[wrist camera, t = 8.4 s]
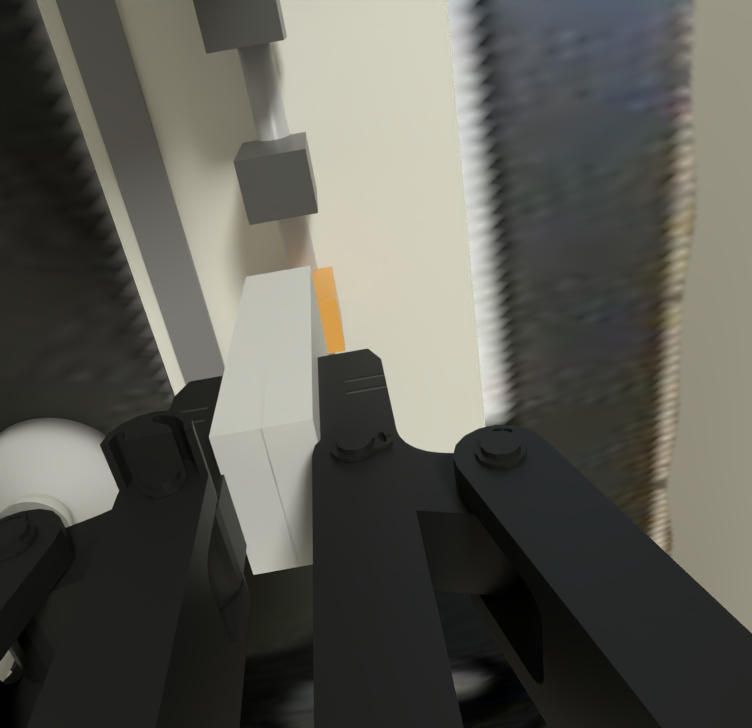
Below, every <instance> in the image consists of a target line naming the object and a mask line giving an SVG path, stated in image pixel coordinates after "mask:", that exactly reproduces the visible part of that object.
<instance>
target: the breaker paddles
mask: <svg viewBox="0 0 752 728" xmlns="http://www.w3.org/2000/svg"><path fill="white" fill-rule="evenodd" d="M193 3H194V7H195V11H196V15H197V19H198V23H199V27H200V31H201V35H202V39H203V43H204V47H205V51H206V54H208V53H213V52H219V51H225V50H231V49H236V48H237V50H238V54H239V58H240V63H241V67H242V71H243V76H244V80H245V84H246V89H247V93H248V97H249V102H250V106H251V110H252V115H253V119H254V124H255V128H256V132H257V137H258V140H257V141H251V142H245V143H242V145H241V147H240V149H239V151H238V153H237V155H236V157H235V159H234V161H233V162H234V166H235V170H236V174H237V178H238V182H239V186H240V190H241V194H242V198H243V202H244V206H245V210H246V214H247V218H248V222H249V225H254V224H259V223H265V222H270V221H276V220H277V223H278V228H279V232H280V236H281V241H282V245H283V250H284V254H285V258H286V263H287V267H288V269H294V268H300V267H305V266H310V267H311V272H312V277H313V282H314V287H315V292H316V297H317V302H318V306H319V311H320V316H321V321H322V326H323V331H324V336H325V341H326V345H327V350H328V355H333V354H335V353H336V352H342V351H346V350H345V342H344V333H343V325H342V316H341V310H340V305H339V300H338V295H337V290H336V284H335V279H334V274H333V269H332V266H331V267H326V268H320V269H318V268H317V263H316V258H315V253H314V249H313V244H312V239H311V234H310V229H309V225H308V220H307V215H310V214H315V213H318V201H317V188H316V182H315V177H314V172H313V167H312V162H311V157H310V152H309V147H308V142H307V137H306V132H302V133H296V134H290V133H289V128H288V123H287V118H286V114H285V109H284V104H283V99H282V94H281V89H280V85H279V80H278V75H277V70H276V65H275V61H274V56H273V51H272V46H271V42H276V41H282V40H284V39H285V38H286V37H287V35H286V29H285V24H284V19H283V14H282V9H281V4H280V0H193Z"/></svg>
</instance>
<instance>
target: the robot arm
mask: <svg viewBox="0 0 752 728" xmlns="http://www.w3.org/2000/svg"><path fill="white" fill-rule="evenodd" d="M100 447H101V449H102V452H103V454H104V456H105V459H106V461H107V463H108V466H109V468H110V470H111V473H112V475H113V478H114V480H115V482H116V485H117V487H118V489H119V492H118V494H117V497H116V500H115V502H114V505H113V507H112V509H111V510H109V511H107V512H104V513H102V514H100V515H98V516H95V517H93V518H90V519H87V520H85V521H82V522H80V523H77V524H74V525H72V526H69V527H67V528H65V526H64V524H63V522H62V520H61V518H60V517H59V516H58V515H57V514H56V513H55V512H54V511H51V510H45V509H33V510H27V511H21V512H18V513H14V514H12V515H9V516H6V517H4V518H1V519H0V661H1V660H2V659H3V657H4V656H5V654H6V653H7V652H8V650H9V651H10V653H11V655H12V656H13V658H14V659H15V661H16V663H17V666H16V667H15V669H14V670H13V672H12V673H11V674H10V675H9V676H8V677H7V678H6V679H5V680H4V681H3V682H2V681H1V680H0V728H239V726H240V715H241V704H242V693H243V682H244V671H245V660H246V649H247V638H248V627H249V616H250V605H251V598H250V592H249V588H248V585H247V582H246V579H245V576H244V566H245V557H246V553H247V556H248V560H249V563H250V566H251V569H252V572H253V575H256V574H261V573H267V572H273V571H278V570H284V569H289V568H295V567H301V566H306V565H312V564H313V644H314V728H463V724H462V719H461V715H460V710H459V706H458V701H457V696H456V692H455V687H454V683H453V678H452V673H451V669H450V664H449V660H448V655H447V651H446V646H445V641H444V637H443V632H442V628H441V623H440V618H439V614H438V609H437V605H436V600H435V595H434V591H433V590H439V591H449V592H459V593H469V595H470V598H471V601H472V604H473V605H474V607H475V609H476V610H477V612H478V613H479V615H480V617H481V618H482V620H483V622H484V623H485V625H486V626H487V628H488V630H489V631H490V633H491V634H492V636H493V638H494V639H495V641H496V642H497V644H498V646H499V647H500V649H501V651H502V652H503V654H504V655H505V657H506V659H507V660H508V662H509V663H510V665H511V667H512V668H513V670H514V672H515V673H516V675H517V676H518V678H519V680H520V681H521V683H522V684H523V686H524V688H525V689H526V691H527V692H528V694H529V696H530V697H531V699H532V701H533V702H534V704H535V705H536V707H537V709H538V710H539V712H540V713H541V715H542V717H543V718H544V720H545V722H546V723H547V725H548V726H549V728H752V633H751V632H749V631H748V630H747V629H746V628H745V627H744V626H743V625H742V624H741V623H740V622H739V621H738V620H737V619H736V618H734V617H733V616H732V615H731V614H730V613H729V612H728V611H727V610H726V609H725V608H724V607H723V606H722V605H721V604H720V603H719V602H717V601H716V600H715V599H714V598H713V597H712V596H711V595H710V594H709V593H708V592H707V591H706V590H705V589H704V588H703V587H702V586H701V585H699V584H698V583H697V582H696V581H695V580H694V579H693V578H692V577H691V576H690V575H689V574H688V573H687V572H685V570H683V569H682V568H681V567H680V566H679V565H678V564H677V563H676V562H675V561H674V560H673V559H672V558H671V557H670V556H669V555H668V554H666V553H665V552H664V551H663V550H662V549H661V548H660V547H659V546H658V545H657V544H656V543H655V542H654V541H653V540H652V539H651V538H649V537H648V536H647V535H646V534H645V533H644V532H643V531H642V530H641V529H640V528H639V527H638V526H637V525H636V524H635V523H634V522H632V521H631V520H630V519H629V518H628V517H627V516H626V515H625V514H624V513H623V512H622V511H621V510H620V509H619V508H618V507H616V506H615V505H614V504H613V503H612V502H611V501H610V500H609V499H608V498H607V497H606V496H605V495H604V494H603V493H602V492H601V491H599V490H598V489H597V488H596V487H595V486H594V485H593V484H592V483H591V482H590V481H589V480H588V479H587V478H586V477H585V476H584V475H582V474H581V473H580V472H579V471H578V470H577V469H576V468H575V467H574V466H573V465H572V464H571V463H570V462H569V461H568V460H566V459H565V458H564V457H563V456H562V455H561V454H560V453H559V452H558V451H557V450H556V449H555V448H554V447H553V446H552V445H551V444H549V443H548V442H547V441H546V440H545V439H544V438H543V437H541V436H540V435H538V434H537V433H535V432H533V431H532V430H530V429H526V428H522V427H518V426H515V425H494V426H489V427H484V428H479V429H477V430H475V431H473V432H471V433H469V434H467V435H465V436H464V437H463V438H462V439H461V440H460V441H459V442H458V443H457V444H456V445H455V449H454V453H439V452H430V451H425V450H421V449H418V448H415V447H413V446H411V445H409V444H408V443H406V442H405V441H404V440H403V439H402V438H401V437H400V436H399V434H398V432H397V429H396V425H395V420H394V416H393V411H392V406H391V402H390V397H389V393H388V388H387V384H386V379H385V375H384V370H383V365H382V361H381V358H379V357H378V356H377V355H376V354H374V353H373V352H372V351H371V350H369V349H362V350H356V351H350V352H345V353H339V354H333V355H328V350H327V345H326V341H325V336H324V331H323V326H322V321H321V316H320V311H319V306H318V302H317V297H316V292H315V287H314V282H313V277H312V272H311V267H310V266H305V267H300V268H294V269H288V270H282V271H276V272H271V273H265V274H259V275H253V276H247V277H246V278H245V283H244V287H243V291H242V296H241V300H240V304H239V309H238V313H237V317H236V322H235V326H234V330H233V335H232V339H231V343H230V348H229V352H228V356H227V361H226V365H225V369H224V374H223V376H218V377H212V378H207V379H201V380H195V381H190V382H188V383H187V384H186V385H185V386H184V388H183V389H182V390H181V391H180V392H179V393H178V394H177V395H176V396H175V397H174V399H173V402H172V405H171V407H170V410H169V411H157V412H152V413H149V414H145V415H141V416H138V417H136V418H134V419H131V420H129V421H127V422H125V423H123V424H121V425H120V426H118V427H117V428H115V429H114V430H113V431H111V432H110V433H109V434H108V435H107V436H106V437H105V438H104V440H103V441H102V442H101V444H100Z"/></svg>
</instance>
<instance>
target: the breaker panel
mask: <svg viewBox="0 0 752 728" xmlns="http://www.w3.org/2000/svg"><path fill="white" fill-rule="evenodd" d="M36 1H37V4H38V7H39V9H40V12H41V15H42V18H43V21H44V24H45V27H46V29H47V32H48V35H49V38H50V41H51V44H52V47H53V49H54V52H55V55H56V58H57V61H58V64H59V66H60V69H61V72H62V75H63V78H64V81H65V84H66V86H67V89H68V92H69V95H70V98H71V101H72V104H73V106H74V109H75V112H76V115H77V118H78V121H79V123H80V126H81V129H82V132H83V135H84V138H85V141H86V143H87V146H88V149H89V152H90V155H91V158H92V161H93V163H94V166H95V169H96V172H97V175H98V178H99V180H100V183H101V186H102V189H103V192H104V195H105V198H106V200H107V203H108V206H109V209H110V212H111V215H112V218H113V220H114V223H115V226H116V229H117V232H118V235H119V238H120V240H121V243H122V246H123V249H124V252H125V255H126V257H127V260H128V263H129V266H130V269H131V272H132V275H133V277H134V280H135V283H136V286H137V289H138V292H139V295H140V297H141V300H142V303H143V306H144V309H145V312H146V314H147V317H148V320H149V323H150V326H151V329H152V332H153V334H154V337H155V340H156V343H157V346H158V349H159V352H160V354H161V357H162V360H163V363H164V366H165V369H166V371H167V374H168V377H169V380H170V383H171V386H172V389H173V391H174V394H175V396H176V395H177V394H178V393H179V392H180V391H181V390H182V389H183V388H184V386H185V385H186V384H187V383H188V382H190V381H195V380H201V379H207V378H212V377H218V376H223V374H224V369H225V365H226V361H227V356H228V352H229V348H230V343H231V339H232V335H233V330H234V326H235V322H236V317H237V313H238V309H239V304H240V300H241V296H242V291H243V287H244V283H245V278H246V277H247V276H253V275H259V274H265V273H271V272H276V271H282V270H288V267H287V263H286V258H285V254H284V250H283V245H282V241H281V236H280V232H279V228H278V223H277V220H276V221H270V222H265V223H259V224H254V225H249V222H248V218H247V214H246V210H245V206H244V202H243V198H242V194H241V190H240V186H239V182H238V178H237V174H236V170H235V166H234V162H233V161H234V159H235V157H236V155H237V153H238V151H239V149H240V147H241V145H242V143H245V142H251V141H257V140H258V137H257V132H256V128H255V124H254V119H253V115H252V110H251V106H250V102H249V97H248V93H247V89H246V84H245V80H244V76H243V71H242V67H241V63H240V58H239V54H238V50H237V48H236V49H231V50H225V51H219V52H213V53H208V54H206V51H205V47H204V43H203V39H202V35H201V31H200V27H199V23H198V19H197V15H196V11H195V7H194V3H193V0H36ZM280 4H281V9H282V14H283V19H284V24H285V29H286V35H287V37H286V38H285V39H284V40H282V41H276V42H271V46H272V51H273V56H274V61H275V65H276V70H277V75H278V80H279V85H280V89H281V94H282V99H283V104H284V109H285V114H286V118H287V123H288V128H289V133H290V134H296V133H302V132H306V137H307V142H308V147H309V152H310V157H311V162H312V167H313V172H314V177H315V182H316V188H317V201H318V213H315V214H310V215H307V220H308V225H309V229H310V234H311V239H312V244H313V249H314V253H315V258H316V263H317V268H318V269H320V268H326V267H331V266H332V269H333V274H334V279H335V284H336V290H337V295H338V300H339V305H340V310H341V316H342V325H343V333H344V342H345V350H346V351H342V352H336V353H335V354H339V353H345V352H350V351H356V350H362V349H369V350H371V351H372V352H373V353H374V354H376V355H377V356H378V357H379V358H381V361H382V365H383V370H384V375H385V379H386V384H387V388H388V393H389V397H390V402H391V406H392V411H393V416H394V420H395V425H396V429H397V432H398V434H399V436H400V437H401V438H402V439H403V440H404V441H405V442H406V443H408V444H409V445H411V446H413V447H415V448H418V449H421V450H425V451H430V452H439V453H454V449H455V445H456V444H457V443H458V442H459V441H460V440H461V439H462V438H463V437H464V436H465V435H467V434H469V433H471V432H473V431H475V430H477V429H479V428H484V427H485V418H484V407H483V396H482V385H481V374H480V363H479V352H478V340H477V329H476V318H475V307H474V296H473V285H472V274H471V263H470V251H469V240H468V229H467V218H466V207H465V196H464V185H463V174H462V162H461V151H460V140H459V129H458V118H457V107H456V96H455V85H454V73H453V62H452V51H451V40H450V29H449V18H448V7H447V0H280Z"/></svg>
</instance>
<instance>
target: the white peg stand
mask: <svg viewBox="0 0 752 728" xmlns="http://www.w3.org/2000/svg"><path fill="white" fill-rule="evenodd" d="M105 437H106V435H105V434H103V433H102V432H100V431H98V430H96V429H94V428H92V427H90V426H88V425H85V424H82V423H80V422H76V421H72V420H68V419H61V418H36V419H30V420H25V421H22V422H19V423H16V424H14V425H12V426H10V427H8V428H6V429H5V430H3V431H2V432H0V519H1V518H4V517H6V516H9V515H12V514H14V513H18V512H21V511H27V510H33V509H45V510H51V511H54V512H55V513H56V514H57V515H58V516H59V517H60V518H61V520H62V522H63V524H64V526H65V528H67V527H69V526H72V525H74V524H77V523H80V522H82V521H85V520H87V519H90V518H93V517H95V516H98V515H100V514H102V513H104V512H107V511H109V510H111V509H112V507H113V505H114V502H115V500H116V497H117V494H118V492H119V489H118V487H117V485H116V482H115V480H114V478H113V475H112V473H111V470H110V468H109V466H108V463H107V461H106V459H105V456H104V454H103V452H102V449H101V447H100V444H101V442H102V441H103V440H104V438H105ZM14 660H15V659H14V658H13V656H12V655H11V653H10V651H9V650H8V652H7V653H6V654H5V656H4V657H3V659H2V660H1V661H0V680H1V681H2V682H3V681H4V680H5V679H6V678H7V676H8V673H9V671H10V669H11V667H12V665H13V662H14Z"/></svg>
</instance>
